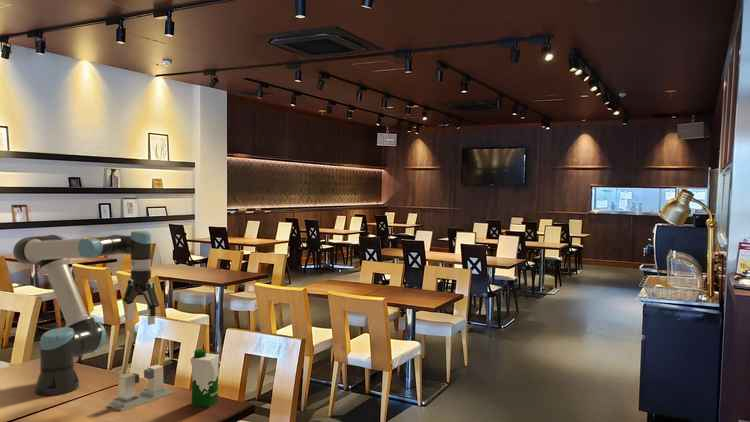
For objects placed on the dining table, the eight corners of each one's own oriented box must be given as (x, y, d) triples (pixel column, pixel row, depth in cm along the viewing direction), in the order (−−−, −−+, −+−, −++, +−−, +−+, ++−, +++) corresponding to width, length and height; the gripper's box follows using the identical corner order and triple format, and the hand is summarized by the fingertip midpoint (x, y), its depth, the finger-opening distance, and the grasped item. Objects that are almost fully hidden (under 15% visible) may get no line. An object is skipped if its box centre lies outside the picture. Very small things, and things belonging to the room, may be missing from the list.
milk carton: (199, 398, 214) (200, 347, 213) (221, 400, 212) (221, 348, 211) (187, 407, 205) (188, 353, 205) (210, 409, 203) (210, 355, 203)
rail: (107, 406, 205) (107, 376, 204) (159, 389, 223) (159, 362, 223) (120, 411, 200) (120, 381, 200) (172, 393, 219) (172, 365, 218)
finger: (156, 389, 220) (156, 364, 219) (163, 391, 218) (163, 366, 217) (143, 394, 215) (143, 368, 214) (149, 396, 213) (149, 370, 212)
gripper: (113, 267, 227) (113, 319, 228) (152, 273, 213) (151, 328, 214) (130, 265, 233) (130, 316, 234) (168, 271, 220) (168, 324, 220)
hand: (140, 321), depth 224 cm, fingers open, 13 cm apart
